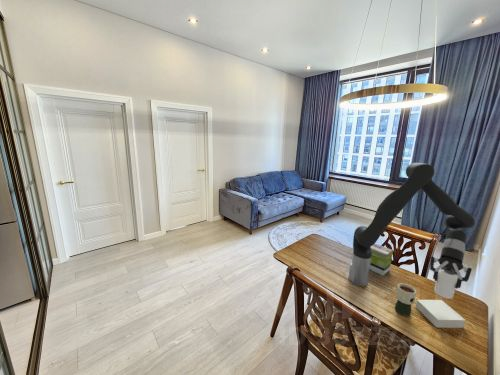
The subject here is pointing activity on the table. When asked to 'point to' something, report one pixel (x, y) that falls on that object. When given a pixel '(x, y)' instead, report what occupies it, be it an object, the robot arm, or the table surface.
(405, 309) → the character mug
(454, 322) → the cream plinth
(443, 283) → the can
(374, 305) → the table surface
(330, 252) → the table surface
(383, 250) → the tea box
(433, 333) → the table surface
